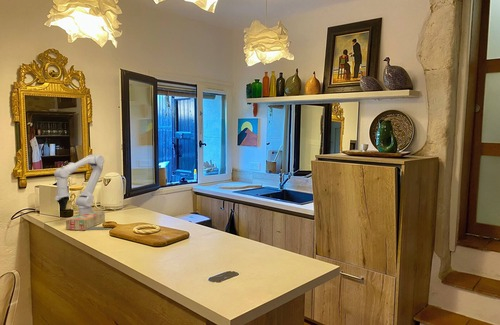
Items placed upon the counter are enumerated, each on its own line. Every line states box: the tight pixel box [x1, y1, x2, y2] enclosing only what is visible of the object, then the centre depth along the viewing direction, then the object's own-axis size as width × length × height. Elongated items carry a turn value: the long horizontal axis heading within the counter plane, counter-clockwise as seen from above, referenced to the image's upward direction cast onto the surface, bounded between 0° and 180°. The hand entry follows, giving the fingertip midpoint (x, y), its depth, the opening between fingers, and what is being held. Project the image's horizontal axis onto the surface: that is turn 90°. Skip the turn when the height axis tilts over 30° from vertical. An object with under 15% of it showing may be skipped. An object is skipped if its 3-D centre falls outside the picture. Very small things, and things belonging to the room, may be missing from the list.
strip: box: [76, 226, 113, 232], centre depth 220 cm, size 6×20×1 cm, turn 95°
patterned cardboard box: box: [65, 211, 106, 231], centre depth 226 cm, size 21×6×12 cm
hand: (63, 209), depth 224 cm, fingers closed
